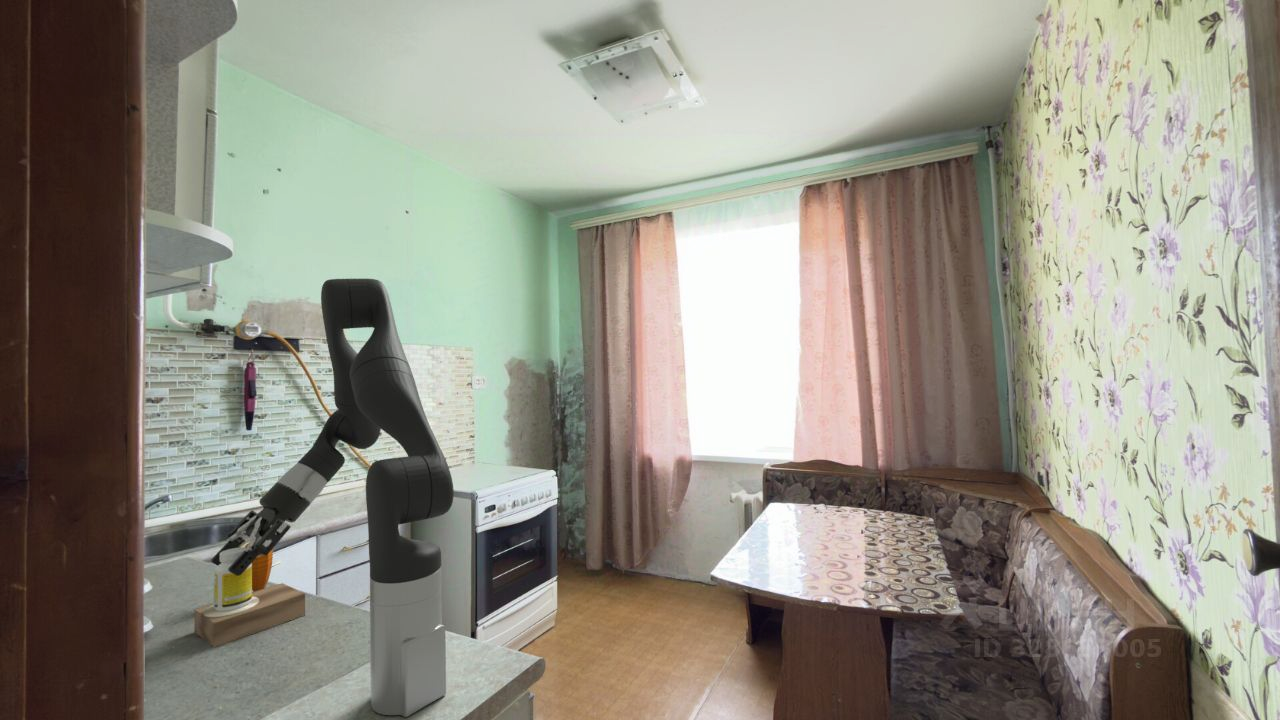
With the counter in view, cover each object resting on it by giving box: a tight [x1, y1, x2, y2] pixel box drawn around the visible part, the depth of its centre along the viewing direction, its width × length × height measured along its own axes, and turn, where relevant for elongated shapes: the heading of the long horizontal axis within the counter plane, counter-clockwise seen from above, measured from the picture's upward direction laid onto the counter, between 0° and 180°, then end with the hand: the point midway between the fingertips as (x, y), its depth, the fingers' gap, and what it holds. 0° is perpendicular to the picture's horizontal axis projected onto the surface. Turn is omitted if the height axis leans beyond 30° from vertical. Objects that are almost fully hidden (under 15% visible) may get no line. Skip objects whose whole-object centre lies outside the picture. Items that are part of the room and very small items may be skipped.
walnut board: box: [193, 583, 306, 648], centre depth 97 cm, size 10×14×4 cm
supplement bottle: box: [213, 546, 253, 611], centre depth 95 cm, size 5×5×10 cm
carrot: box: [244, 542, 274, 592], centre depth 110 cm, size 5×5×15 cm
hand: (224, 568), depth 94 cm, fingers open, 8 cm apart
